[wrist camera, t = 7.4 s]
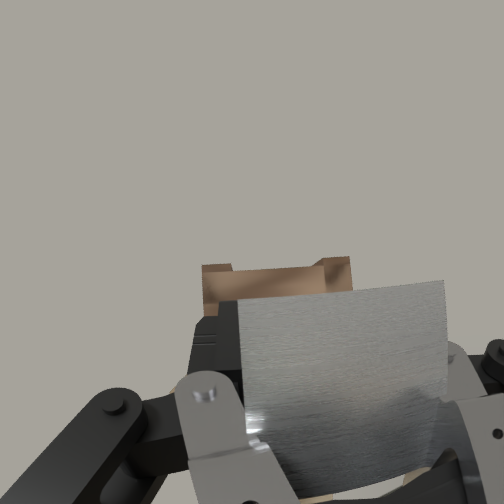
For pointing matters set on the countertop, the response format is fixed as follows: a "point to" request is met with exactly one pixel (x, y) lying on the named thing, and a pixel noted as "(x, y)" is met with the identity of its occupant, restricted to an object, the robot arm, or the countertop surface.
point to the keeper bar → (345, 382)
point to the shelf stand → (274, 290)
